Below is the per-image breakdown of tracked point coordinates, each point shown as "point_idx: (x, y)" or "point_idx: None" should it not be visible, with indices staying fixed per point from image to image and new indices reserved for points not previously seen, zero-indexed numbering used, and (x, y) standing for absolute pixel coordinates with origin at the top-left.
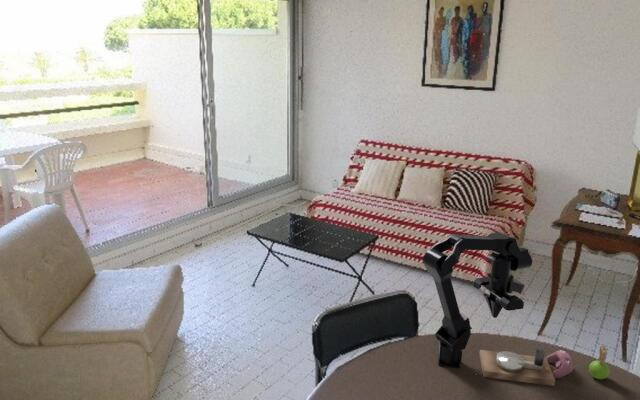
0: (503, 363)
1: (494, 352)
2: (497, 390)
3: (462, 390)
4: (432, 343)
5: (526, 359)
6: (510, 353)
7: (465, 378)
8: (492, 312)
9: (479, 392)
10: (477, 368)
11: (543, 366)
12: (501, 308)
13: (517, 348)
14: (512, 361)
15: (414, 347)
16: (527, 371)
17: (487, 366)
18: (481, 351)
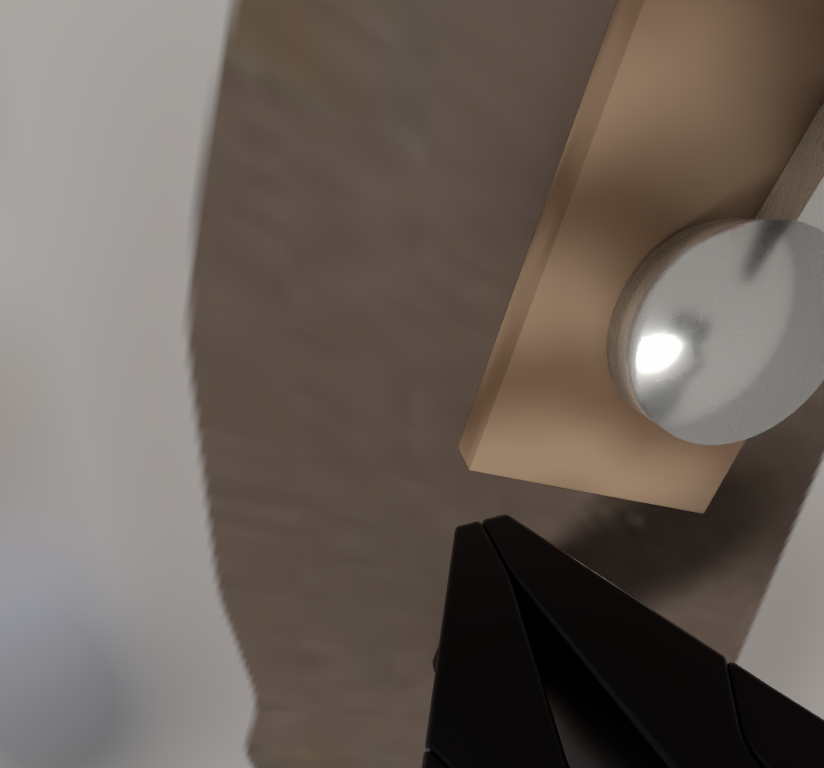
0: (776, 422)
1: (521, 375)
2: (794, 456)
3: (734, 606)
4: (303, 674)
5: (669, 127)
6: (685, 307)
7: (659, 576)
8: (553, 713)
9: (774, 542)
10: (593, 498)
11: (808, 10)
12: (803, 726)
13: (375, 61)
14: (785, 343)
15: (349, 750)
16: None
17: (669, 482)
18: (494, 466)
